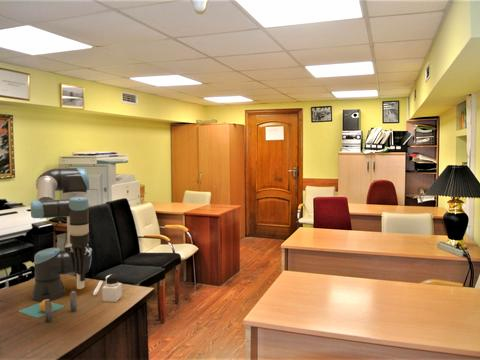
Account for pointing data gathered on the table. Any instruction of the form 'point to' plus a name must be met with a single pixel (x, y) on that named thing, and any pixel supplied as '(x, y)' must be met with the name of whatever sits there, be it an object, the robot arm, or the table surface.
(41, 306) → the ball
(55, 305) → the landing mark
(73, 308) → the post
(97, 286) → the marker
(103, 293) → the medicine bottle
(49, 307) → the post
